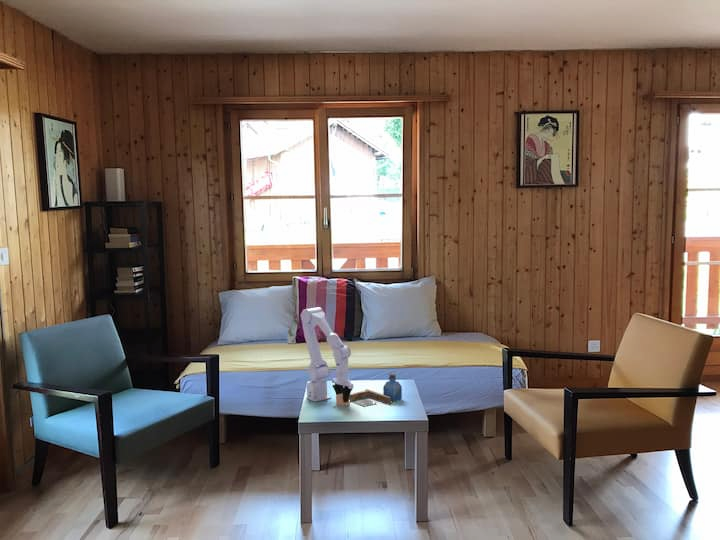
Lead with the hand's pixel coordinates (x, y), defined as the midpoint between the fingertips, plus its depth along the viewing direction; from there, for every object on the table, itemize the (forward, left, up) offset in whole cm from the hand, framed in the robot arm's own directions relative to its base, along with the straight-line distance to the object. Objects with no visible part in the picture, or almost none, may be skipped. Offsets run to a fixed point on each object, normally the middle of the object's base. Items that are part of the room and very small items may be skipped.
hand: (342, 400), depth 292 cm
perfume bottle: (+23, -9, -2) cm, 25 cm away
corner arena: (+11, -5, -2) cm, 13 cm away
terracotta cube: (0, 0, -2) cm, 2 cm away
